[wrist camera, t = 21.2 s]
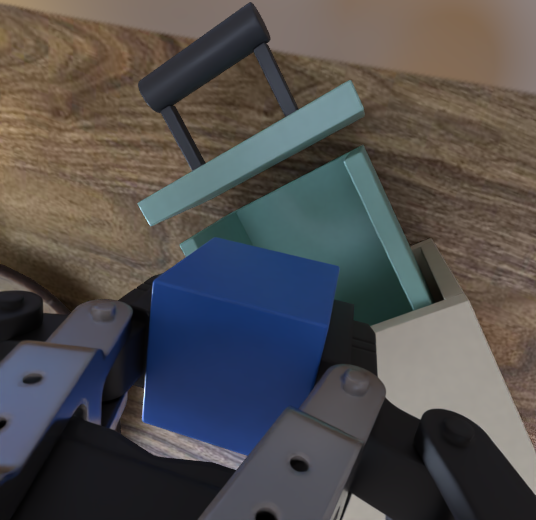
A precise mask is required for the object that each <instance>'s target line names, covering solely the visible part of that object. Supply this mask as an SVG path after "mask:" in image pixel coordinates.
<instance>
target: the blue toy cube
mask: <svg viewBox="0 0 536 520" xmlns="http://www.w3.org/2000/svg"><path fill="white" fill-rule="evenodd" d="M339 270H340V268H339V266H336V265H332V264H328V263H323V262H319V261H315V260H311V259H306V258H302V257H298V256H294V255H289V254H285V253H281V252H277V251H272V250H268V249H264V248H260V247H255V246H251V245H247V244H243V243H238V242H234V241H230V240H226V239H221V238H217V237H214V238H212V239H211V240H210V241H208V242H207V243H205V244H204V245H203V246H201V247H200V248H198V249H197V250H195V251H194V252H193V253H191V254H190V255H188V256H187V257H186V258H184V259H183V260H181V261H180V262H178V263H177V264H176V265H174V266H173V267H171V268H170V269H169V270H167V271H166V272H164V273H163V274H161V275H160V276H159V277H157V278H156V279H154V281H153V283H152V296H151V309H150V322H149V335H148V348H147V361H146V374H145V387H144V400H143V413H142V421H143V422H144V423H147V424H150V425H154V426H157V427H160V428H163V429H166V430H169V431H172V432H175V433H178V434H182V435H185V436H188V437H191V438H194V439H197V440H200V441H203V442H206V443H209V444H213V445H216V446H219V447H222V448H225V449H228V450H231V451H234V452H237V453H241V454H244V455H247V456H248V455H249V454H250V453H251V451H252V450H253V449H254V447H255V446H256V445H257V444H258V442H259V441H260V440H261V439H262V437H263V436H264V435H265V434H266V432H267V431H268V430H269V429H270V427H271V426H272V425H273V423H274V422H275V421H276V420H277V418H278V417H279V416H280V415H281V413H282V412H283V411H284V410H285V409H286V407H288V406H289V405H292V406H294V407H296V408H298V409H299V407H300V406H301V405H302V403H303V402H304V400H305V399H306V398H307V396H308V395H309V394H310V392H311V391H312V390H313V388H314V385H315V381H316V377H317V373H318V369H319V365H320V361H321V357H322V353H323V349H324V345H325V341H326V337H327V333H328V329H329V324H330V318H331V313H332V308H333V302H334V297H335V292H336V286H337V281H338V276H339Z"/></svg>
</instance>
